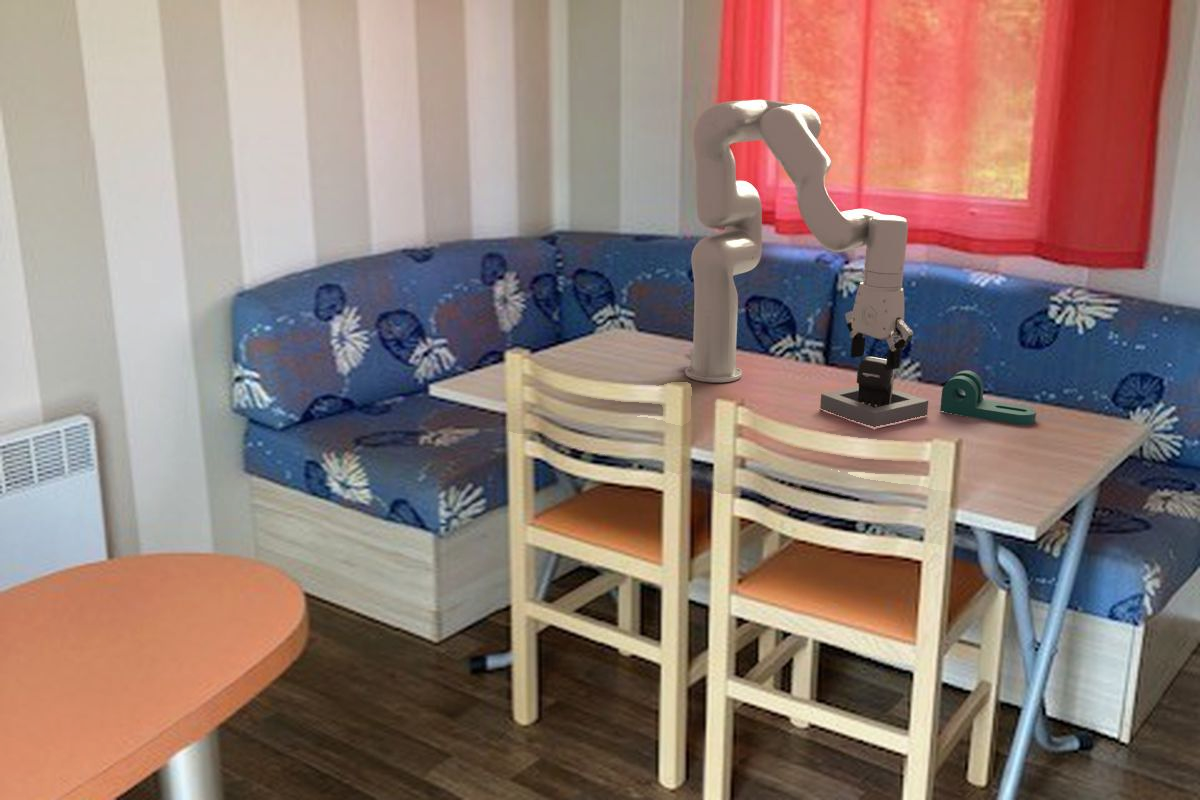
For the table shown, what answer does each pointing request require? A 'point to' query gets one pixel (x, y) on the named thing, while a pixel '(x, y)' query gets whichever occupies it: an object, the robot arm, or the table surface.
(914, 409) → the frame
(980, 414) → the bracket
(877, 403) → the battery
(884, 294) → the robot arm
